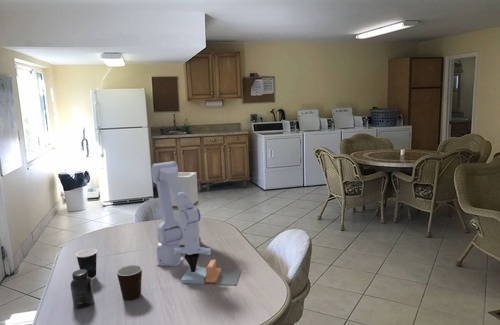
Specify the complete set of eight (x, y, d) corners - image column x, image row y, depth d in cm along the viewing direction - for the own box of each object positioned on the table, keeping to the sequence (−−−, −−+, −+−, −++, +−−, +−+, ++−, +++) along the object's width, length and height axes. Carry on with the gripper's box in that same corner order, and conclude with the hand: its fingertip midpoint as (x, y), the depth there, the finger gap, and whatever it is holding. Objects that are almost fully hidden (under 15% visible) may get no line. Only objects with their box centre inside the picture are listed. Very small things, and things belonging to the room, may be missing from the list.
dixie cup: (87, 284, 149) (84, 257, 147) (74, 280, 153) (71, 254, 151) (104, 276, 156) (101, 250, 154) (91, 272, 160) (88, 247, 158)
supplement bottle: (77, 299, 138) (73, 268, 136) (96, 298, 138) (93, 267, 136) (70, 310, 131) (65, 277, 129) (90, 308, 132) (86, 275, 130)
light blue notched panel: (181, 282, 148) (181, 279, 147) (189, 270, 158) (189, 266, 158) (204, 283, 146) (203, 280, 146) (210, 270, 157) (210, 267, 157)
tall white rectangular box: (200, 241, 191) (196, 172, 185) (193, 249, 180) (189, 176, 175) (178, 240, 193) (174, 172, 187) (170, 248, 182) (165, 176, 177)
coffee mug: (137, 303, 134) (134, 276, 132) (114, 301, 136) (112, 274, 134) (151, 287, 145) (149, 262, 143) (131, 285, 147) (128, 261, 145)
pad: (215, 284, 145) (215, 284, 145) (221, 270, 157) (221, 270, 157) (236, 285, 144) (236, 284, 144) (241, 271, 156) (241, 270, 156)
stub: (205, 282, 147) (204, 269, 146) (211, 270, 156) (211, 258, 156) (215, 282, 146) (215, 269, 145) (221, 271, 156) (220, 259, 155)
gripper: (170, 241, 147) (172, 275, 149) (207, 242, 145) (208, 276, 147) (176, 235, 154) (178, 267, 156) (211, 235, 152) (213, 268, 154)
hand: (193, 271), depth 152 cm, fingers closed
